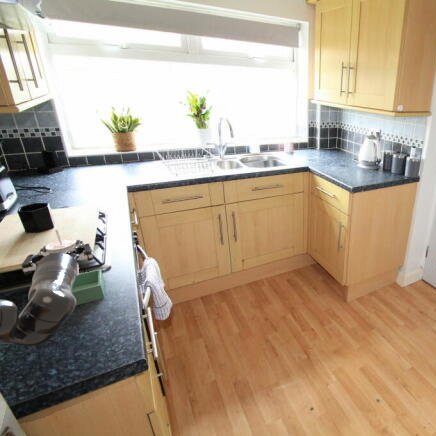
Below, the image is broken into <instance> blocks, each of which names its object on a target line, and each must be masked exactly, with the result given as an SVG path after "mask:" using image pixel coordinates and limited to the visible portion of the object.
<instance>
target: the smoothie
mask: <svg viewBox="0 0 436 436" xmlns="http://www.w3.org/2000/svg"><path fill="white" fill-rule="evenodd" d="M54 232H55V234H56V237H57V240H54V241H52V242H50V243H48V244H47V245H45V246H46V247H45V248H46V252H48V253H49V254H53V253H62V252H65V251H66V250H68V249H69V248H70V247H75V246H76V240H75V239H73V238H64V239H63V238H61V235H60V232H59V229H55V230H54ZM79 269H80V267H79V263H78V264H77V272H76V276H77V275H79Z"/></svg>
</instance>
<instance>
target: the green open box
mask: <svg viewBox="0 0 436 436" xmlns="http://www.w3.org/2000/svg"><path fill="white" fill-rule="evenodd" d="M72 292H73V294H74V296H75V298H76V306H79V305H83V304H88V303H91V302H95V301H98V300H102V299H105V297H106V296H105V278H104V275H103V272H102V269H101V268H98V269H94V270H89V272H85V273H80V274H79V275H77V276H76V278H75V282H74V284H73V287H72Z"/></svg>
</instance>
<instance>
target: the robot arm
mask: <svg viewBox="0 0 436 436" xmlns="http://www.w3.org/2000/svg"><path fill="white" fill-rule="evenodd" d="M75 242H76V246H75V247H70V248H69V249H68V250H66V251H65V252H62V253H53V254H49V253H48V252H46V248H45V247H46V246H47V245H45V246H43V247H42V248H40V249H39V251H38V252H37V254H33V253H31V254H29V255H27V256H26V257H25V259H24V260H23V262H22V263H21V265H20V267H21V269H22V271H23V273H24V275H30V274H32V272H33V271H34V272H33V276H32V279H31V285H30V288H29V290H28V295H27V297H28V298H27V299H28V303H27V304H26V305H25V306H24V307H23V309H22V311H21V312H19V308H18V306H17V305H16V303H14V301H11V300H8V299H0V344H3V345H14V346H15V345H17V346H26V347H33V346H38V345H42V344H44V343H47V342H49V341H50V340H52V339H53V338H54V337H55V336H56V335H57V334H58V332H59V331H60V330H61V328H62V327H63V326H64V325H65V323H66V321H68V319H69V318H70V316H71V315H72V314H73V312H74V311H75V308H76V307H77V305H76V298H75V296H74V294H73V292H72V287H73V284H74V282H75V278H76V272H77V264H78V265H79V264H80V263H81V261H84V260H87V261H88V262H91V261H94V256H93V250H92V247H91V244H90V243H84V241H83V240H80V239H76V240H75Z"/></svg>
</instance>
